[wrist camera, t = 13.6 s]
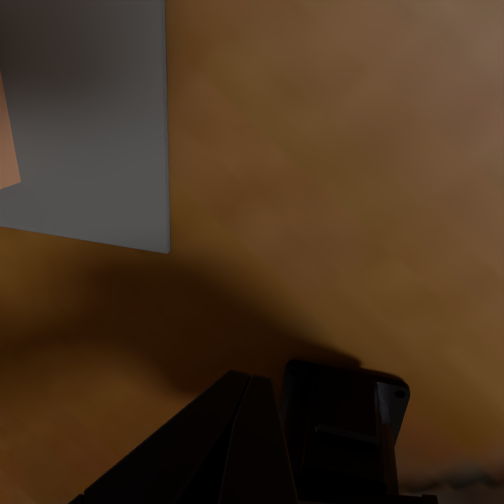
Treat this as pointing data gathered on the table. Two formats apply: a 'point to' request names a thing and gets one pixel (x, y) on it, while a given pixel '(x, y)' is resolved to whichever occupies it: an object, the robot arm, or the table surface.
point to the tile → (6, 146)
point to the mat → (87, 120)
